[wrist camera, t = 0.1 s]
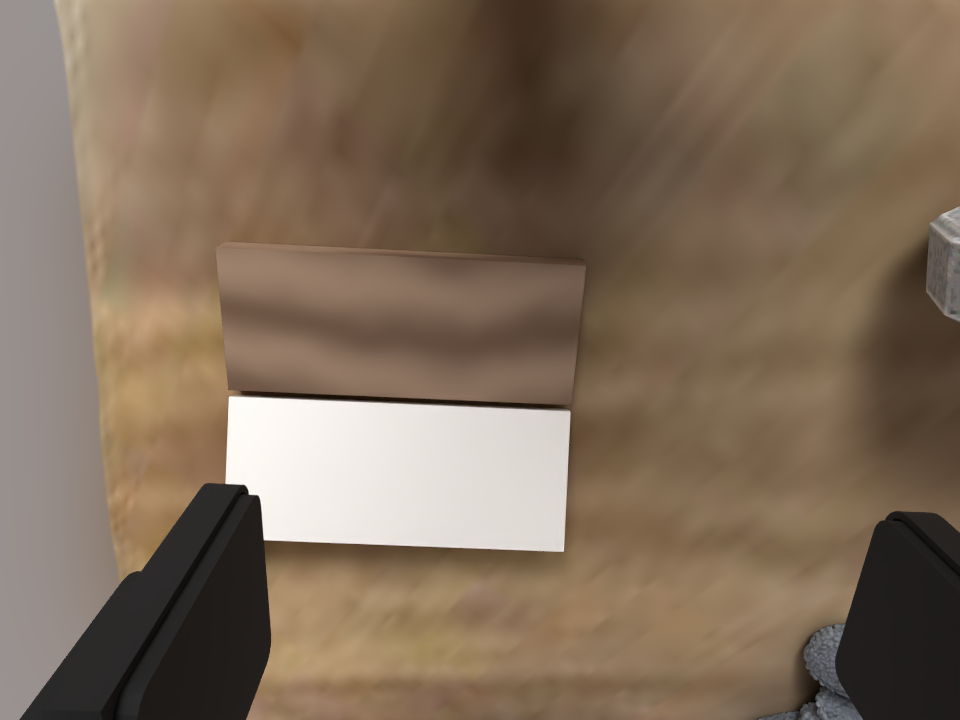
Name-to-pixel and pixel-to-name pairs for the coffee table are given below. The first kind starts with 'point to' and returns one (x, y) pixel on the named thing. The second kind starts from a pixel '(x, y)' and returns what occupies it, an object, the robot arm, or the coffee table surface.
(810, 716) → the koala plush
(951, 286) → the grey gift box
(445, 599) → the coffee table surface
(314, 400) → the off-white plank
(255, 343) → the walnut plank
